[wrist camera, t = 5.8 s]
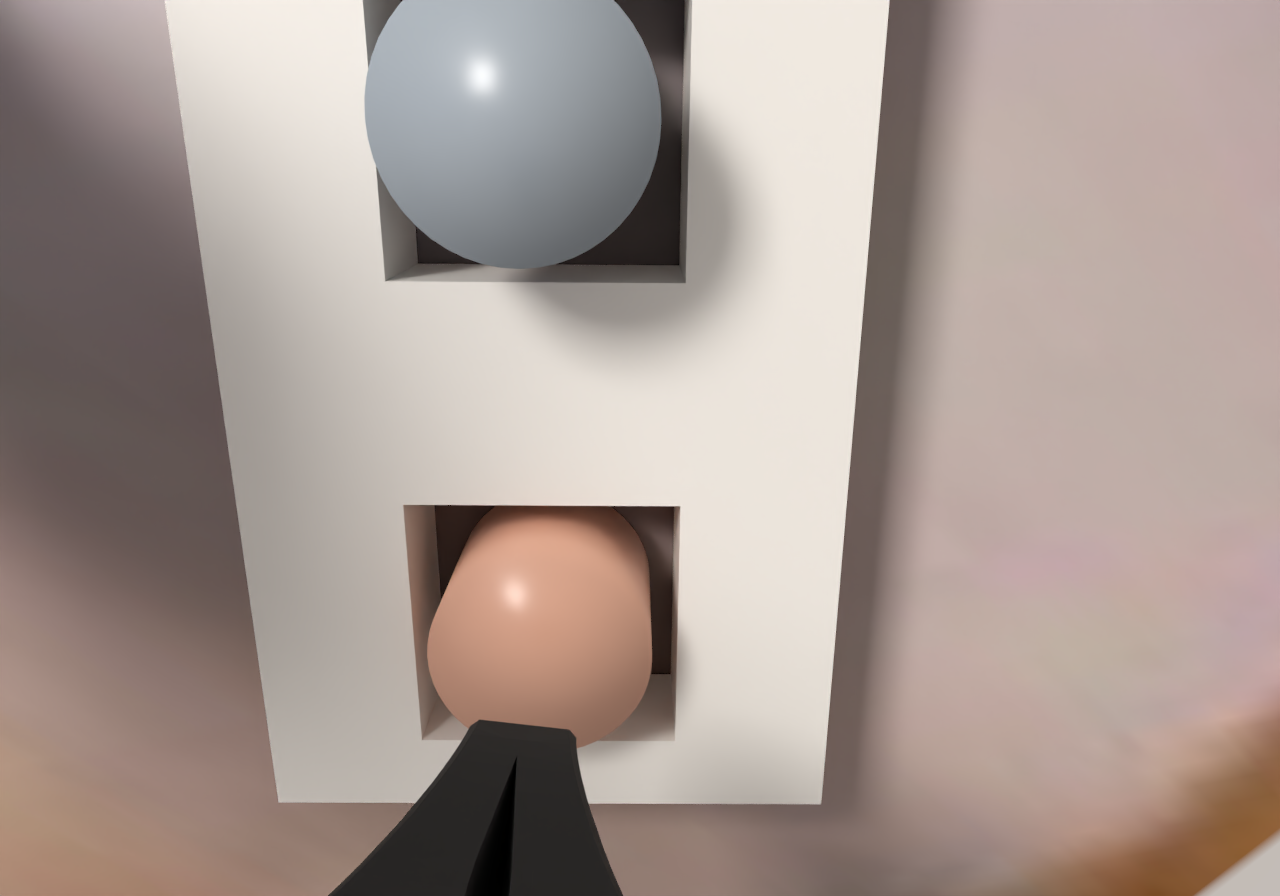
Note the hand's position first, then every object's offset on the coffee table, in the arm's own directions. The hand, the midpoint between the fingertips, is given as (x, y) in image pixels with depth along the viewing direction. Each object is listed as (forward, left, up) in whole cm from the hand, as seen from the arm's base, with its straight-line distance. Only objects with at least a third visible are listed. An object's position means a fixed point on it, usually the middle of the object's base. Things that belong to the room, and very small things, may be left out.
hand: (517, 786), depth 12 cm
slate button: (0, +8, -6) cm, 10 cm away
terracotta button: (0, 0, -7) cm, 7 cm away
